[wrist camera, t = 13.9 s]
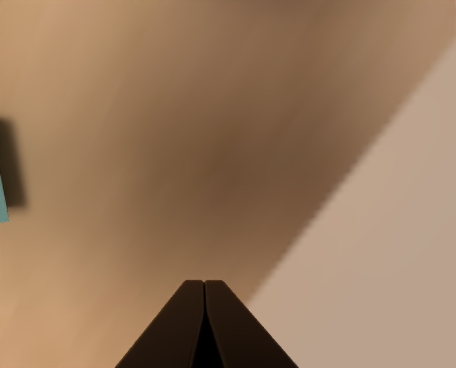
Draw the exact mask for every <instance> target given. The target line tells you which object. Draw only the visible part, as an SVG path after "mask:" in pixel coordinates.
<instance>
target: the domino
mask: <svg viewBox="0 0 456 368" xmlns="http://www.w3.org/2000/svg"><path fill="white" fill-rule="evenodd" d="M5 221H9V219H8V211H7V205H6V200H5V195H4V190H3V184H2V179H1V174H0V222H5Z"/></svg>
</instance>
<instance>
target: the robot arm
mask: <svg viewBox="0 0 456 368" xmlns="http://www.w3.org/2000/svg"><path fill="white" fill-rule="evenodd" d="M115 368H299V367H298V366H297V365H296V364H295V363H294V362H293V361H292V359H291V358H290V357H289V356H288V355H287V354H286V352H285V351H284V350H283V349H282V348H281V347H280V346H279V344H278V343H277V342H276V341H275V340H274V339H273V338H272V336H271V335H270V334H269V333H268V332H267V331H266V329H265V328H264V327H263V326H262V325H261V324H260V323H259V321H258V320H257V319H256V318H255V317H254V316H253V315H252V313H251V312H250V311H249V310H248V309H247V308H246V307H245V305H244V304H243V303H242V302H241V301H240V300H239V298H238V297H237V296H236V295H235V294H234V293H233V292H232V290H231V289H230V288H229V287H228V286H227V285H226V284H225V282H224V281H222V280H206V281H205V282H203V281H202V280H185V281H184V282H183V283H182V285H181V286H180V287H179V288H178V290H177V291H176V292H175V293H174V295H173V296H172V297H171V298H170V300H169V301H168V302H167V303H166V304H165V306H164V307H163V308H162V309H161V311H160V312H159V313H158V314H157V316H156V317H155V318H154V319H153V321H152V322H151V323H150V324H149V326H148V327H147V328H146V329H145V331H144V332H143V333H142V334H141V336H140V337H139V338H138V339H137V341H136V342H135V343H134V344H133V346H132V347H131V348H130V349H129V351H128V352H127V353H126V354H125V356H124V357H123V358H122V359H121V361H120V362H119V363H118V364H117V365H116V367H115Z"/></svg>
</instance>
